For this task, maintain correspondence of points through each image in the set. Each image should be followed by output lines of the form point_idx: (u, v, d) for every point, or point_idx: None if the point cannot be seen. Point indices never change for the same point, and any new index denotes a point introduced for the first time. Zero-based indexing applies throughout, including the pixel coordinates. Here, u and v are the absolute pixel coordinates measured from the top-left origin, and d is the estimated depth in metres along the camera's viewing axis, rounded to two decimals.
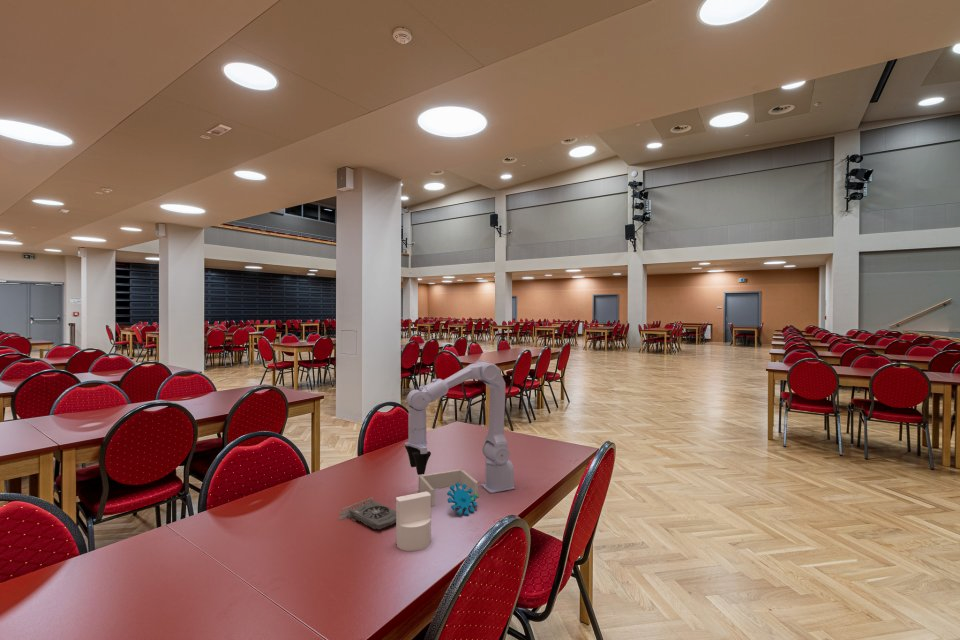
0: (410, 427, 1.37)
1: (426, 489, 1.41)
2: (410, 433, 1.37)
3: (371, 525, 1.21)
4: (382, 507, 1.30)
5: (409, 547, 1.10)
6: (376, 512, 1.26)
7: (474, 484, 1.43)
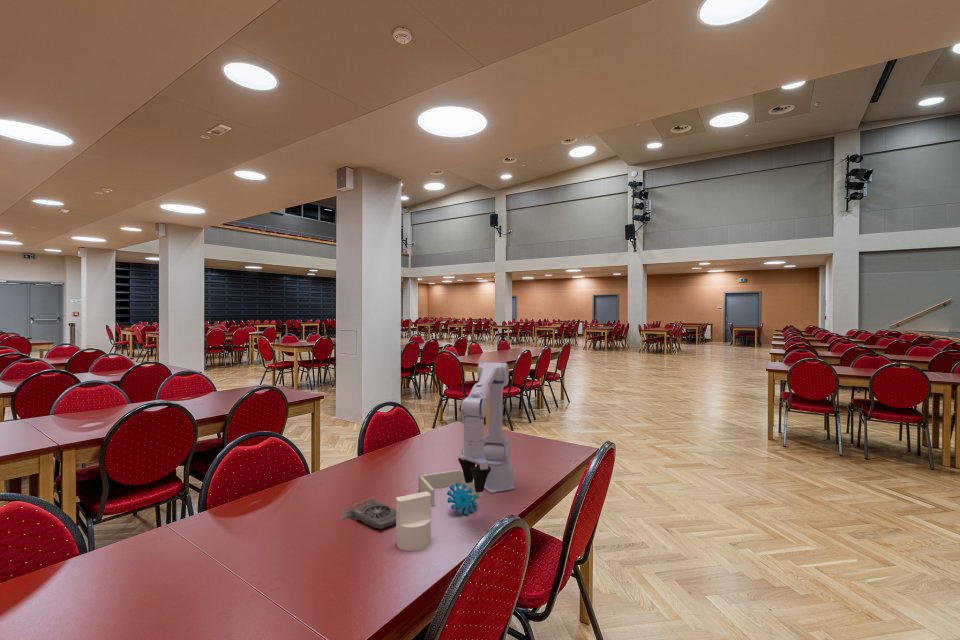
0: (475, 439, 1.22)
1: (426, 489, 1.41)
2: (467, 445, 1.22)
3: (373, 525, 1.21)
4: (383, 507, 1.31)
5: (409, 547, 1.10)
6: (377, 512, 1.26)
7: None
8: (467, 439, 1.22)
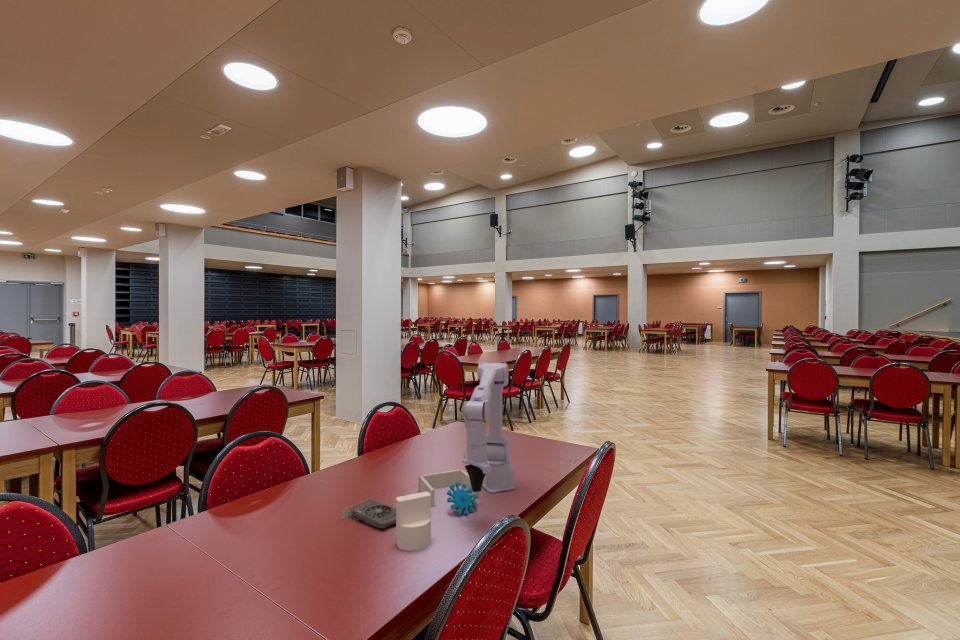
0: (478, 443, 1.21)
1: (426, 489, 1.41)
2: (469, 449, 1.22)
3: (375, 524, 1.21)
4: (384, 506, 1.31)
5: (409, 547, 1.10)
6: (378, 511, 1.27)
7: None
8: (470, 443, 1.22)
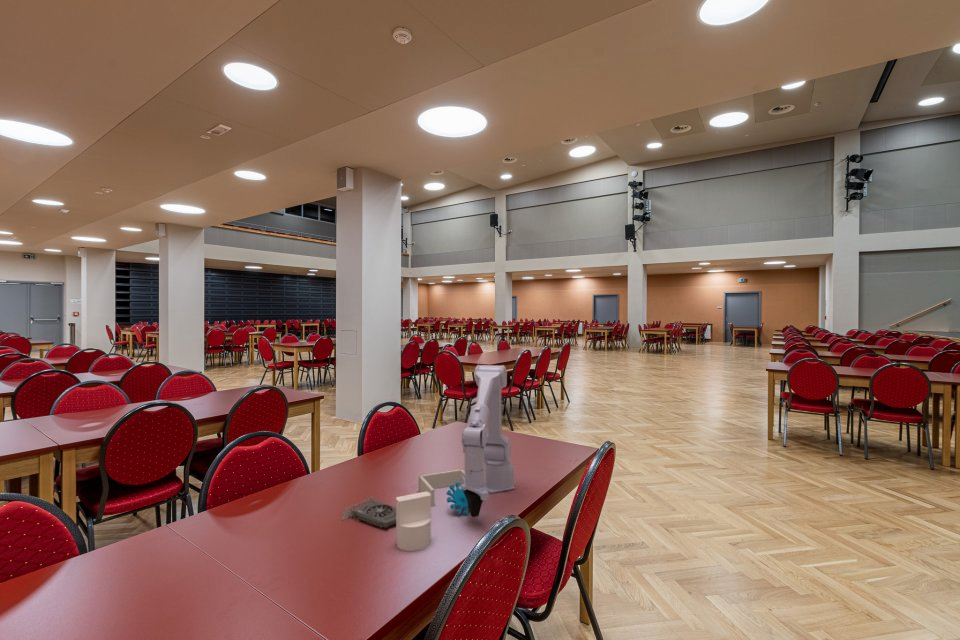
0: (475, 469, 1.23)
1: (426, 489, 1.41)
2: (467, 475, 1.23)
3: (377, 524, 1.22)
4: (384, 506, 1.31)
5: (409, 547, 1.10)
6: (380, 511, 1.27)
7: None
8: (468, 469, 1.23)
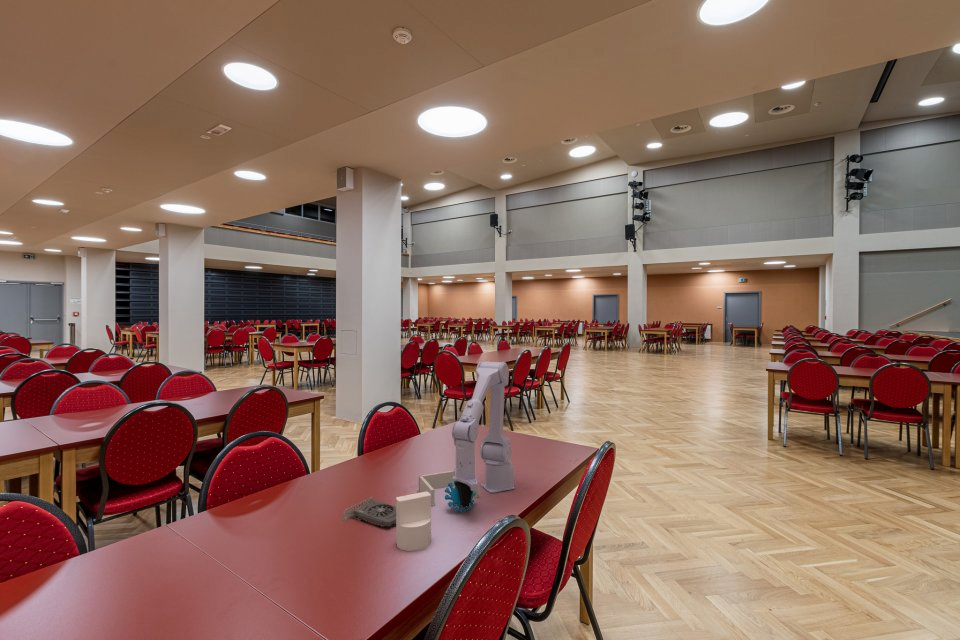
0: (464, 462, 1.29)
1: (426, 489, 1.41)
2: (458, 467, 1.30)
3: (379, 523, 1.22)
4: (385, 505, 1.32)
5: (409, 547, 1.10)
6: (381, 510, 1.27)
7: None
8: (457, 461, 1.30)
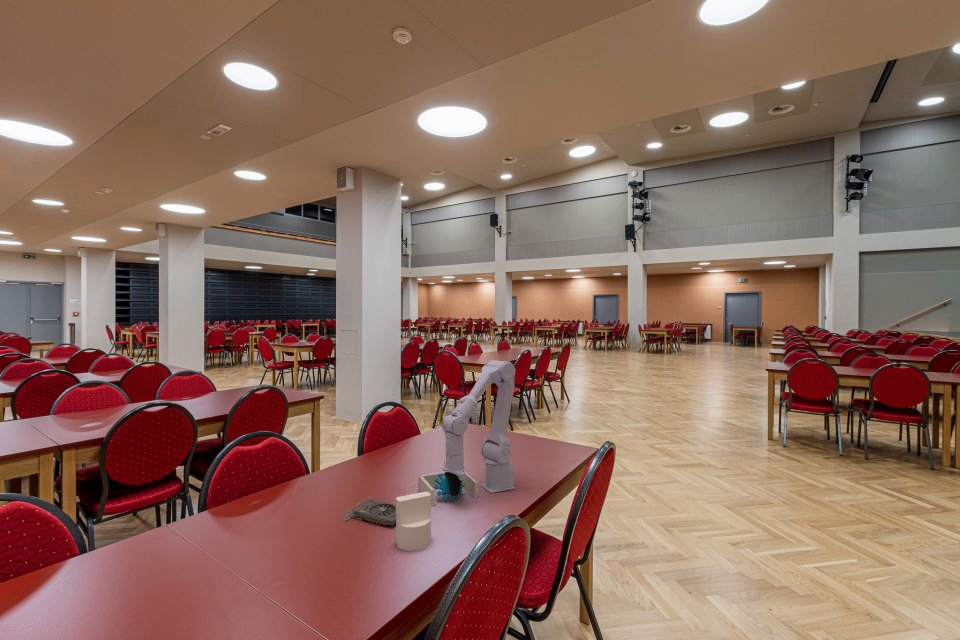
0: (450, 453, 1.37)
1: (426, 489, 1.41)
2: (448, 458, 1.38)
3: (383, 522, 1.23)
4: (385, 504, 1.32)
5: (409, 547, 1.10)
6: (383, 509, 1.28)
7: (474, 484, 1.43)
8: None
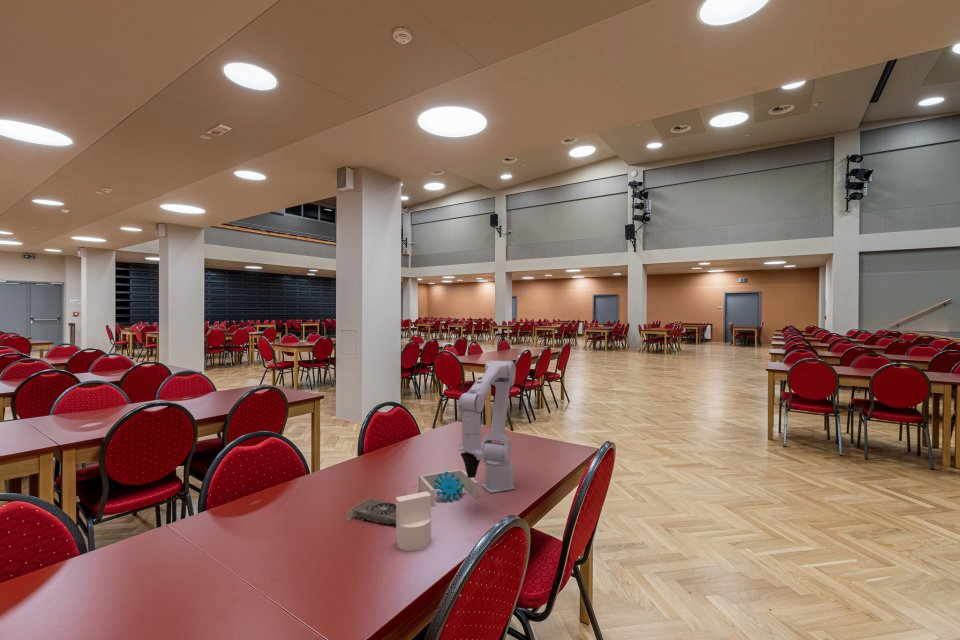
0: (471, 432, 1.30)
1: (426, 489, 1.41)
2: (464, 438, 1.31)
3: (386, 521, 1.23)
4: (386, 504, 1.33)
5: (409, 547, 1.10)
6: (384, 509, 1.28)
7: (474, 484, 1.43)
8: (464, 432, 1.31)
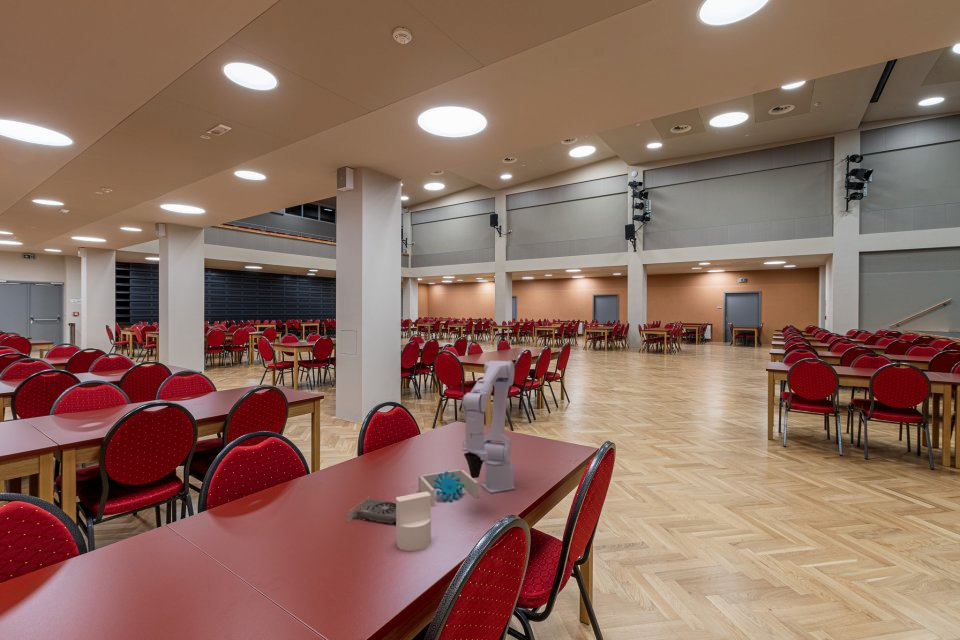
0: (475, 432, 1.30)
1: (426, 489, 1.41)
2: (468, 438, 1.30)
3: (388, 520, 1.24)
4: (386, 503, 1.33)
5: (409, 547, 1.10)
6: (386, 508, 1.29)
7: (474, 484, 1.43)
8: (468, 432, 1.30)
